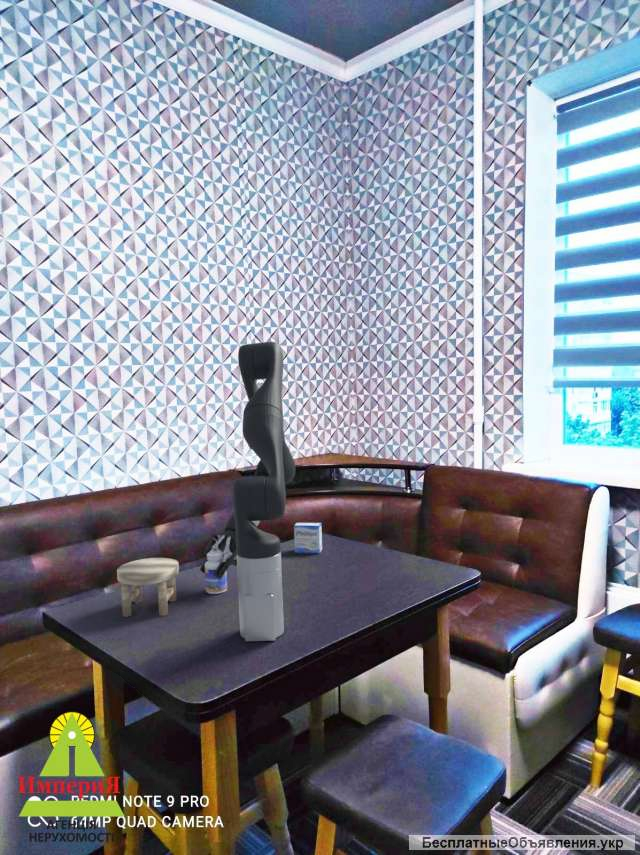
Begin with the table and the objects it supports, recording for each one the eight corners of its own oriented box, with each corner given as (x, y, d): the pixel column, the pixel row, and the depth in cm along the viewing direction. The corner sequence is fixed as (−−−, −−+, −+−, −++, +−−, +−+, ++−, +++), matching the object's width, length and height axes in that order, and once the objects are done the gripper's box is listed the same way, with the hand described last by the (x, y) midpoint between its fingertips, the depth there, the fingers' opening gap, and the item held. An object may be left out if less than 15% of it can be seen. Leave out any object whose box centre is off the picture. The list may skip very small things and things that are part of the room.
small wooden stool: (172, 618, 136) (170, 575, 136) (110, 620, 136) (108, 577, 135) (186, 596, 150) (184, 556, 149) (130, 597, 150) (127, 558, 149)
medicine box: (294, 553, 184) (293, 525, 183) (297, 549, 188) (296, 521, 187) (320, 553, 182) (319, 525, 182) (322, 549, 187) (321, 522, 186)
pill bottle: (201, 592, 152) (199, 555, 151) (214, 585, 157) (212, 549, 156) (218, 595, 150) (216, 557, 149) (231, 588, 154) (229, 551, 154)
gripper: (220, 507, 162) (184, 561, 155) (254, 514, 152) (217, 572, 144) (237, 522, 166) (202, 576, 159) (271, 530, 156) (236, 588, 149)
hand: (209, 574), depth 152 cm, fingers closed on pill bottle, 5 cm apart
